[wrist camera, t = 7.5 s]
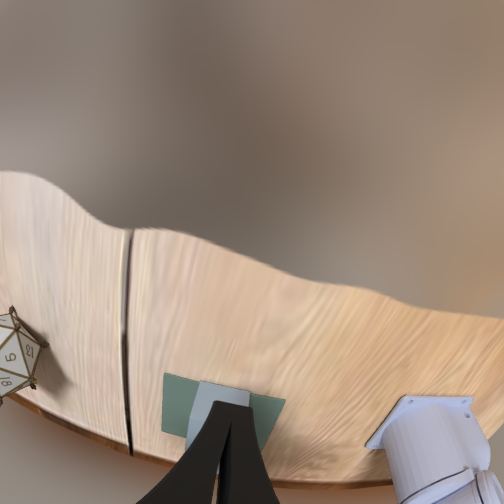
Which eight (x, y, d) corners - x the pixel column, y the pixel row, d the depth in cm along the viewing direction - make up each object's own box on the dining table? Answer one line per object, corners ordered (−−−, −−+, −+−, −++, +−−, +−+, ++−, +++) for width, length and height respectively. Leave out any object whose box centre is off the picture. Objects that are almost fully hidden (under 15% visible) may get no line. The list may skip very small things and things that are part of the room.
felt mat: (285, 399, 23) (285, 401, 23) (260, 451, 26) (260, 453, 26) (164, 372, 23) (163, 374, 23) (162, 429, 26) (161, 431, 26)
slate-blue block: (245, 430, 19) (227, 475, 22) (250, 391, 23) (232, 442, 26) (189, 417, 19) (183, 465, 22) (200, 380, 23) (191, 433, 26)
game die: (58, 327, 28) (52, 419, 22) (-7, 315, 25) (-18, 402, 19) (39, 290, 21) (25, 412, 15) (-38, 276, 18) (-59, 386, 12)
